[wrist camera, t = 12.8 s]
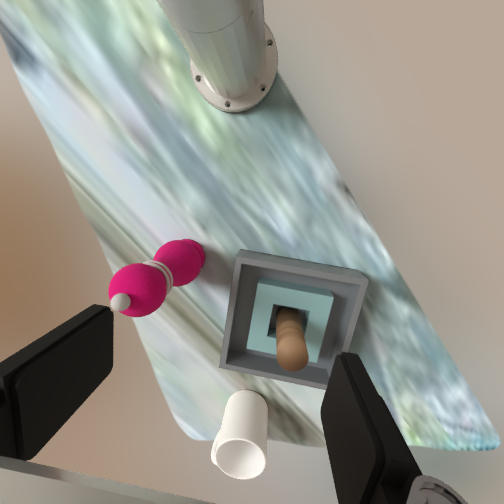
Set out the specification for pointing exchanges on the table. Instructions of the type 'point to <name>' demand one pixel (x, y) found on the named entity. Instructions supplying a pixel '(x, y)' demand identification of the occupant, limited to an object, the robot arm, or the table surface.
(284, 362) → the peg
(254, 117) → the table surface
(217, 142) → the table surface
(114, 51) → the table surface
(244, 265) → the tray
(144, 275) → the pepper mill
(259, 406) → the mug
